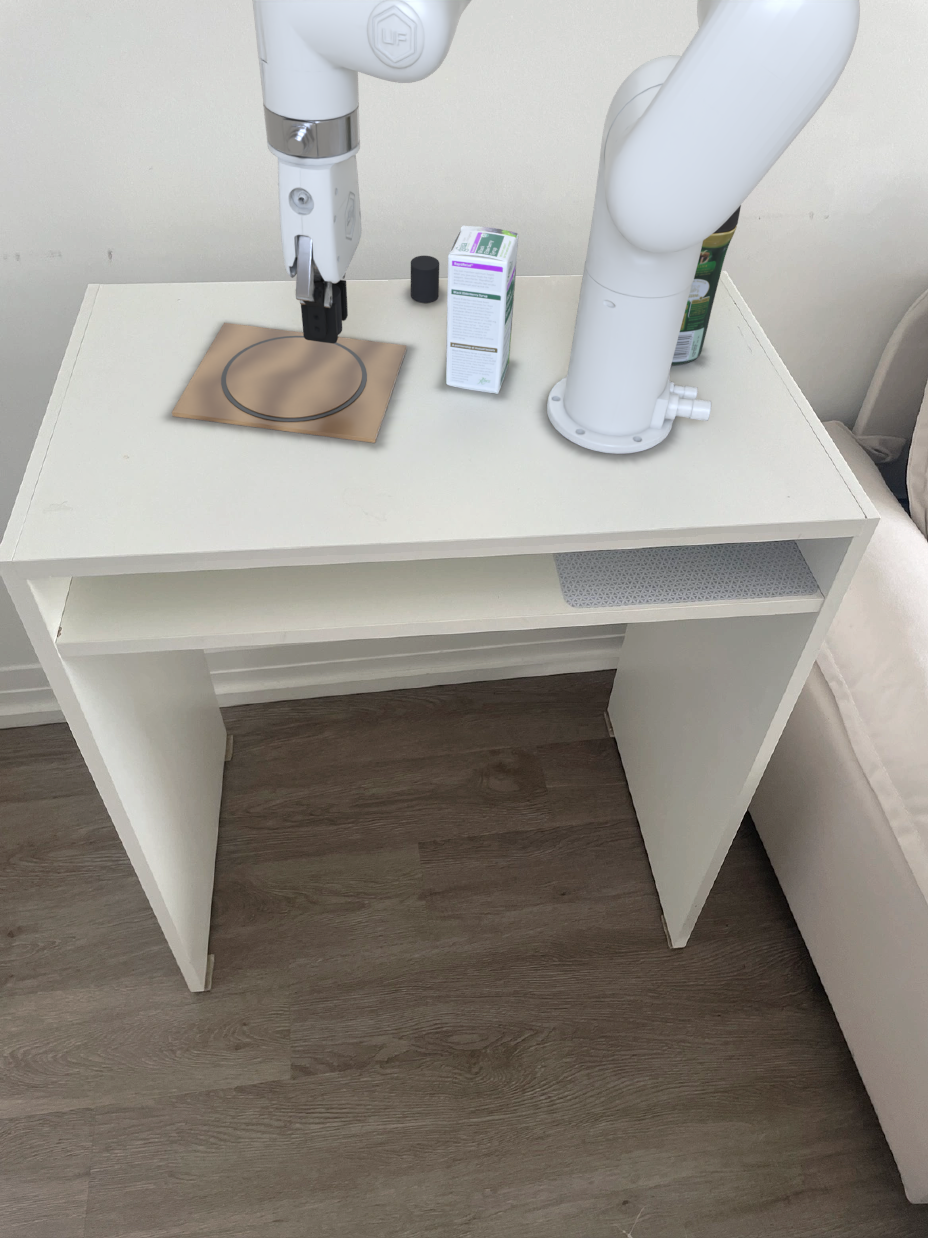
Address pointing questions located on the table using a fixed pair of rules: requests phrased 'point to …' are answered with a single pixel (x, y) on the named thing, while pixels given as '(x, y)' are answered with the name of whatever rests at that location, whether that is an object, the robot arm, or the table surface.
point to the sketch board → (293, 383)
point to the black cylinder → (424, 279)
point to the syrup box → (480, 307)
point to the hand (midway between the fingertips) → (326, 326)
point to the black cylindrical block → (336, 299)
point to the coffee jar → (703, 292)
